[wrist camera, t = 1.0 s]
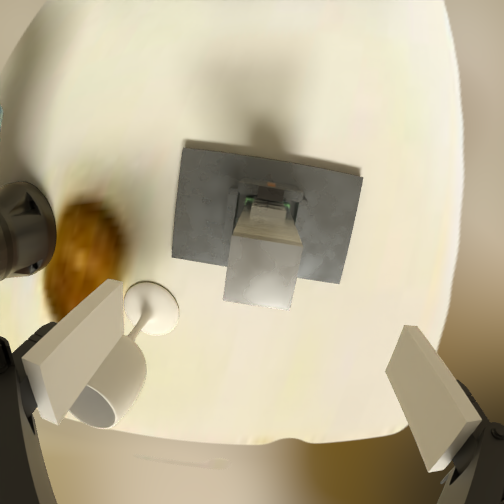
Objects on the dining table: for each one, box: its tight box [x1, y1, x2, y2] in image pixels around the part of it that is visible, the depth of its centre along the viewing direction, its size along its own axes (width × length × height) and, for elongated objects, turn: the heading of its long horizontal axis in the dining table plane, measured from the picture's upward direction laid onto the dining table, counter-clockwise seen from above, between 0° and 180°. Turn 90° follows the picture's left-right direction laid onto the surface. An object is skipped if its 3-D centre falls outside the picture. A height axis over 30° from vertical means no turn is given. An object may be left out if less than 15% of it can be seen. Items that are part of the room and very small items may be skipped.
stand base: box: [172, 148, 363, 284], centre depth 35 cm, size 22×14×10 cm, turn 81°
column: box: [223, 196, 303, 311], centre depth 30 cm, size 5×5×19 cm
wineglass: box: [69, 282, 179, 429], centre depth 35 cm, size 9×9×21 cm
